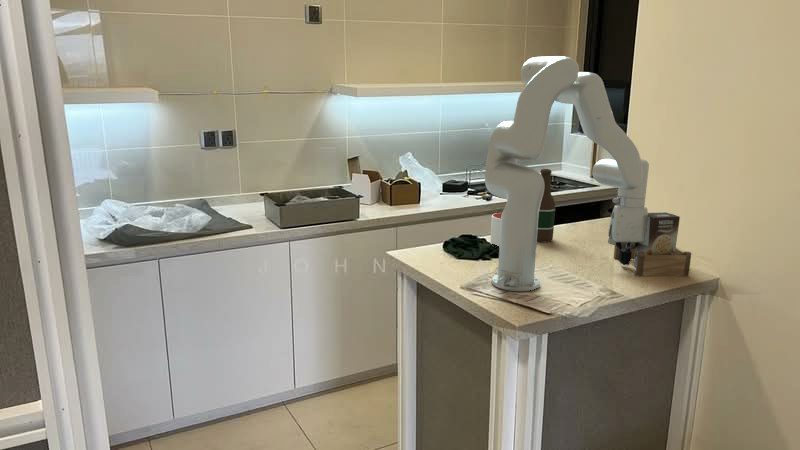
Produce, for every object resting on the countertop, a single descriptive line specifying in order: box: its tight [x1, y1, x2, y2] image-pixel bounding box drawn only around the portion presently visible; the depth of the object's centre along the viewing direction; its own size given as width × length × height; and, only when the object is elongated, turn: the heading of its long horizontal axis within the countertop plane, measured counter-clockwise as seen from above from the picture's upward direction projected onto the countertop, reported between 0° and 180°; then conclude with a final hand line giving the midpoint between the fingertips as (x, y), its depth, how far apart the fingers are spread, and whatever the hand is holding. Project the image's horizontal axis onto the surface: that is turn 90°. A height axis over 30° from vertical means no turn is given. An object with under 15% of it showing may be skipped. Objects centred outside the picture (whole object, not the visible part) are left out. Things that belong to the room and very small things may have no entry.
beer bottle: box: [537, 168, 556, 243], centre depth 211 cm, size 8×8×24 cm
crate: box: [613, 242, 692, 277], centre depth 185 cm, size 18×15×7 cm
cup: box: [490, 212, 502, 246], centre depth 204 cm, size 10×10×10 cm
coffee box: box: [632, 211, 681, 268], centre depth 182 cm, size 9×6×16 cm
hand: (624, 263), depth 185 cm, fingers closed
